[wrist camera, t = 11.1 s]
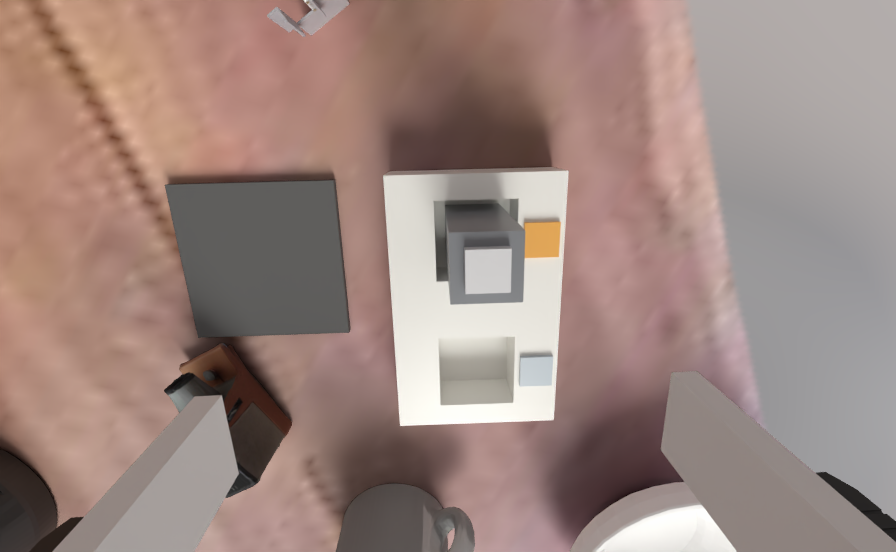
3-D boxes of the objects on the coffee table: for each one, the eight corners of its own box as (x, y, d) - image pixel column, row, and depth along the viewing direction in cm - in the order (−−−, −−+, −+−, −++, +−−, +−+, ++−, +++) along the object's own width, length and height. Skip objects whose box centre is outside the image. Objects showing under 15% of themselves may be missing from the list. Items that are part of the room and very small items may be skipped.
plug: (446, 256, 33) (450, 308, 23) (444, 204, 32) (448, 235, 22) (497, 255, 33) (525, 306, 23) (498, 203, 32) (527, 232, 22)
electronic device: (228, 335, 35) (176, 387, 28) (296, 422, 38) (264, 489, 31) (185, 359, 36) (122, 415, 29) (255, 443, 39) (214, 513, 31)
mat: (202, 334, 35) (198, 337, 34) (169, 184, 31) (164, 184, 31) (350, 329, 35) (348, 332, 35) (335, 179, 32) (333, 180, 31)
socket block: (403, 396, 37) (399, 428, 33) (389, 171, 32) (382, 175, 27) (541, 391, 38) (554, 422, 33) (552, 166, 32) (569, 171, 28)
